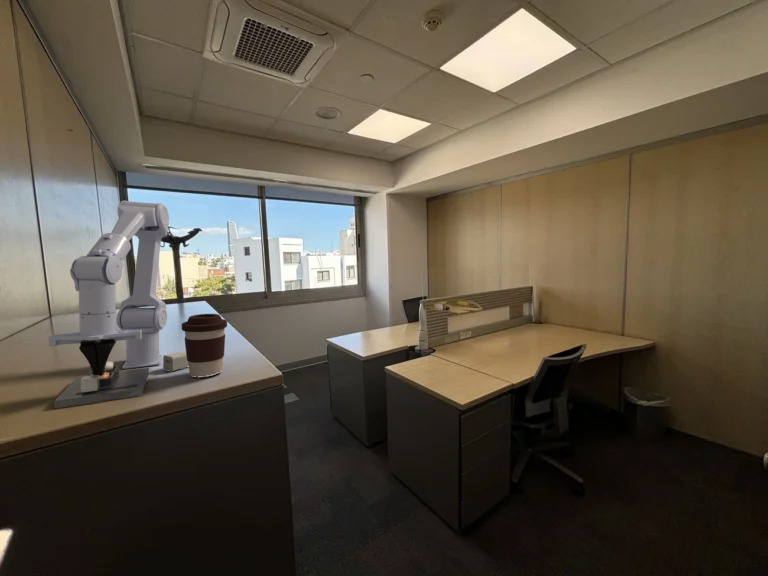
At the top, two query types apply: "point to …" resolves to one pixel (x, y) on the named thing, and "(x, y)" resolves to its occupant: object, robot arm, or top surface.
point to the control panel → (105, 388)
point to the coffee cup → (204, 343)
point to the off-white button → (108, 366)
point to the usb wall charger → (175, 361)
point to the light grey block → (90, 383)
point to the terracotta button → (105, 375)
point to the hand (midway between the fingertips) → (99, 375)
